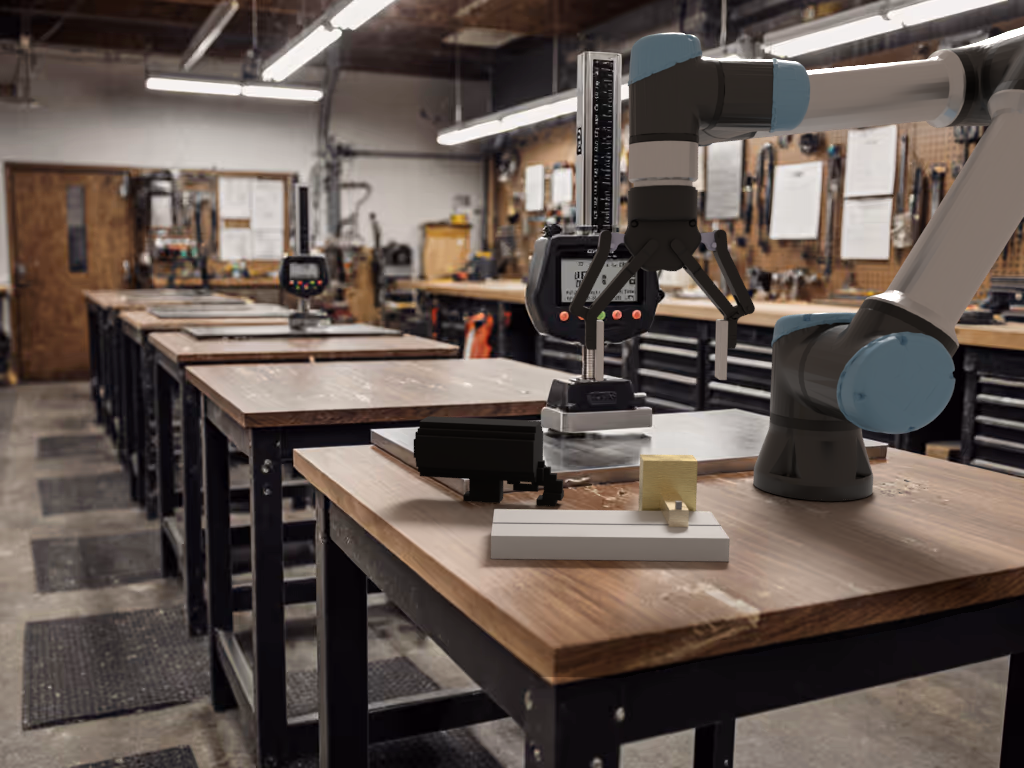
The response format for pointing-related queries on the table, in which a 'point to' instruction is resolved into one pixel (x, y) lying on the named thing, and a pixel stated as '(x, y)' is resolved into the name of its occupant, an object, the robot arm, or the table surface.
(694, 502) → the pale yellow block
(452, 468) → the security camera
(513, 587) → the table surface
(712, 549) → the board
